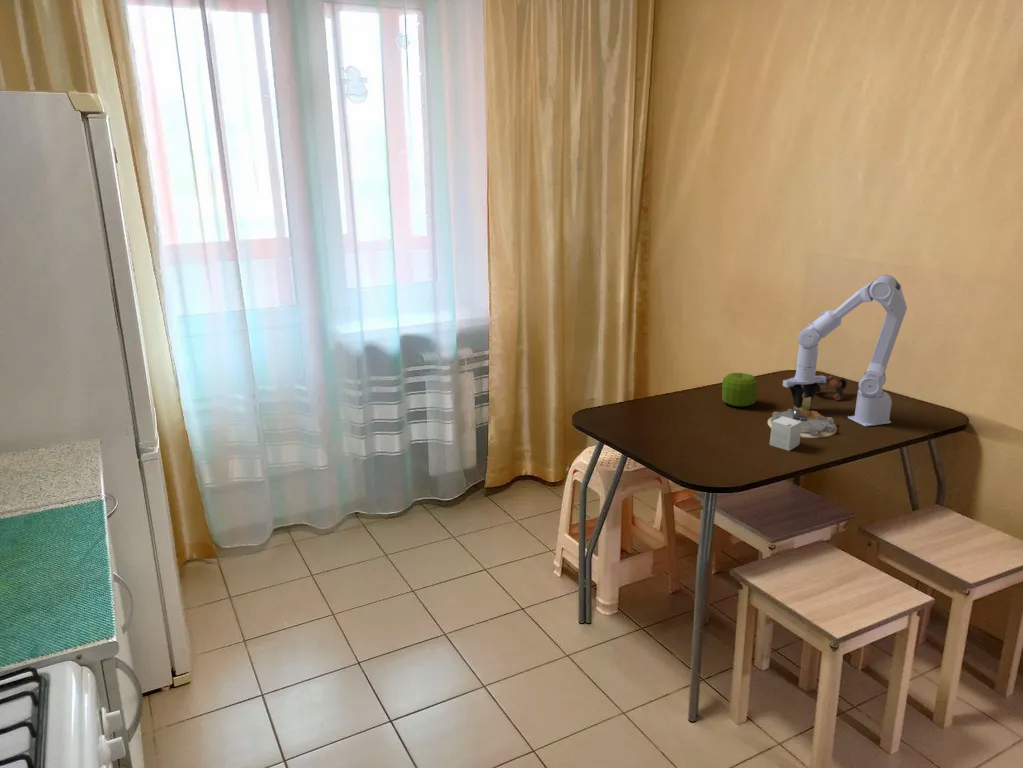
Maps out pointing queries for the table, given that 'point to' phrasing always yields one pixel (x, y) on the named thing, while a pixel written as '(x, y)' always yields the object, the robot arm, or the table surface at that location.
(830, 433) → the base plate
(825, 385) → the brown irregular piece
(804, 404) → the wooden block
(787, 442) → the skincare box
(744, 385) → the apple
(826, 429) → the sprocket
